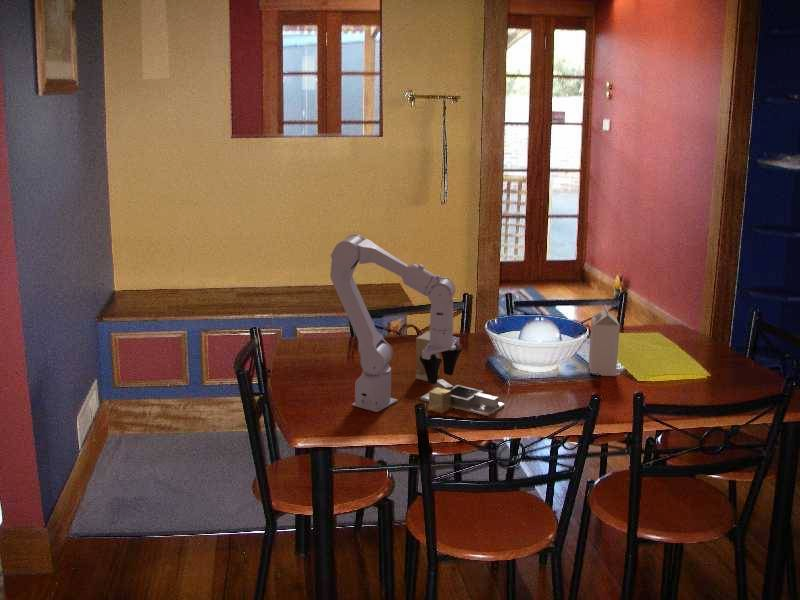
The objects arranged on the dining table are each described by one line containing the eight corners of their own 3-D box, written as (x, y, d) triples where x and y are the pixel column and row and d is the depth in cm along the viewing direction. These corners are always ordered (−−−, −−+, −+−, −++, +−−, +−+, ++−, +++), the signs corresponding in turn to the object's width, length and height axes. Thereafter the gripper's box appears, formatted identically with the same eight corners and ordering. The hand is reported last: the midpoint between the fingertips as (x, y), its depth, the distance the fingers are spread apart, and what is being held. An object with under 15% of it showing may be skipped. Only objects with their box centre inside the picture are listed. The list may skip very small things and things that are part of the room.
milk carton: (613, 368, 271) (617, 305, 266) (616, 376, 264) (621, 312, 259) (588, 367, 272) (592, 304, 267) (590, 375, 265) (594, 311, 260)
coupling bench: (487, 417, 235) (487, 403, 234) (420, 399, 246) (420, 386, 245) (504, 406, 242) (505, 393, 241) (438, 389, 253) (438, 377, 252)
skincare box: (426, 372, 266) (426, 331, 263) (439, 375, 264) (440, 333, 261) (414, 379, 261) (415, 337, 258) (428, 382, 259) (429, 339, 256)
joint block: (442, 413, 237) (442, 395, 236) (428, 410, 239) (429, 391, 238) (450, 408, 240) (450, 390, 239) (437, 405, 243) (437, 387, 241)
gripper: (439, 337, 226) (438, 390, 230) (470, 323, 238) (468, 373, 241) (415, 332, 230) (414, 384, 234) (446, 318, 242) (445, 368, 245)
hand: (440, 378), depth 238 cm, fingers open, 7 cm apart
